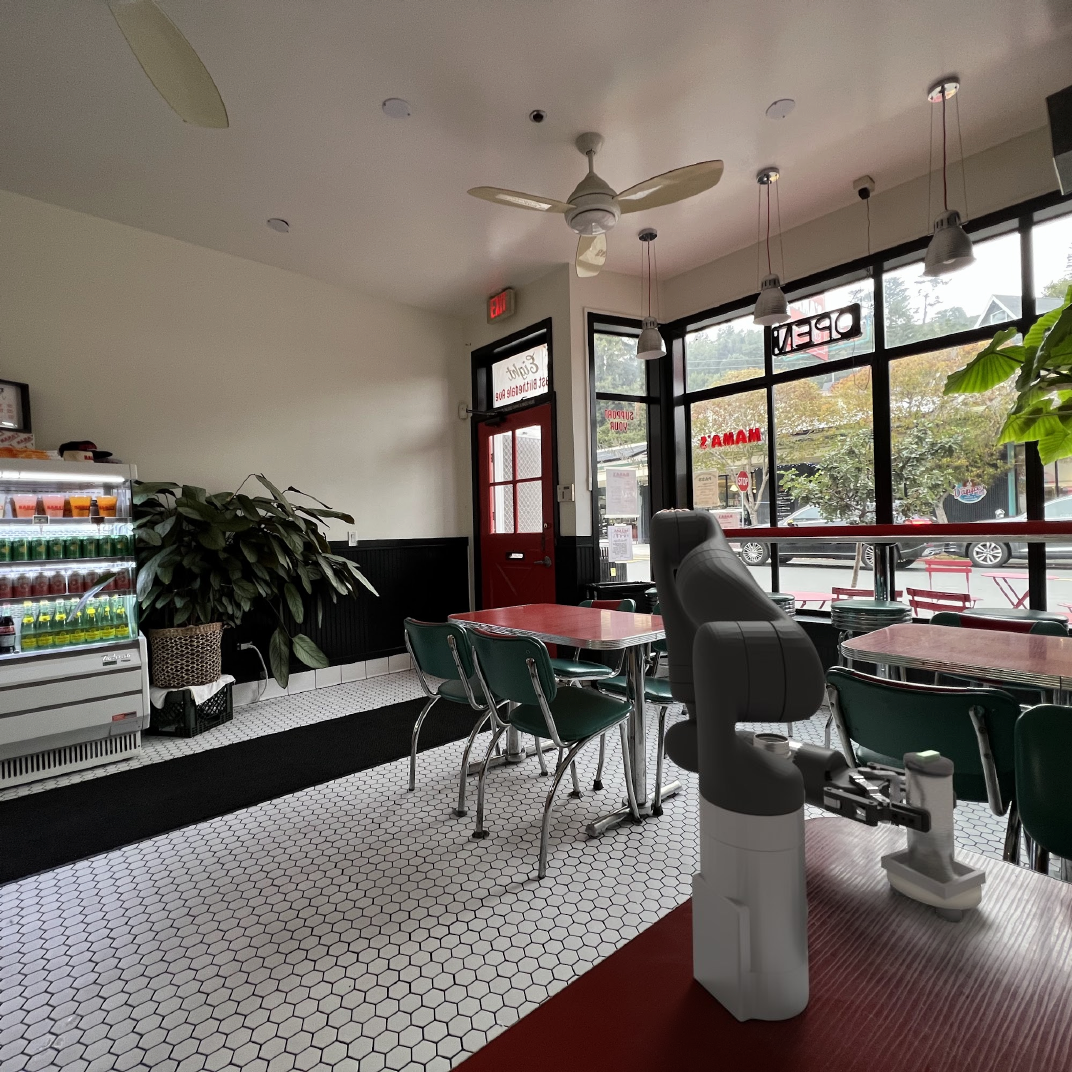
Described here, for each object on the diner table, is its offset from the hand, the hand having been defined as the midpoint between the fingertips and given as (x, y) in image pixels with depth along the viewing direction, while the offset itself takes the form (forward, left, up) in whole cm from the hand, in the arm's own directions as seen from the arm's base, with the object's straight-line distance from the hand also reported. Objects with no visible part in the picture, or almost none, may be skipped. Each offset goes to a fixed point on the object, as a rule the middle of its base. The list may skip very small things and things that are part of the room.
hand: (943, 811), depth 67 cm
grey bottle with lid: (0, +1, -8) cm, 8 cm away
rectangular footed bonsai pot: (0, +1, -10) cm, 10 cm away
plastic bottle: (-20, +5, -10) cm, 23 cm away
